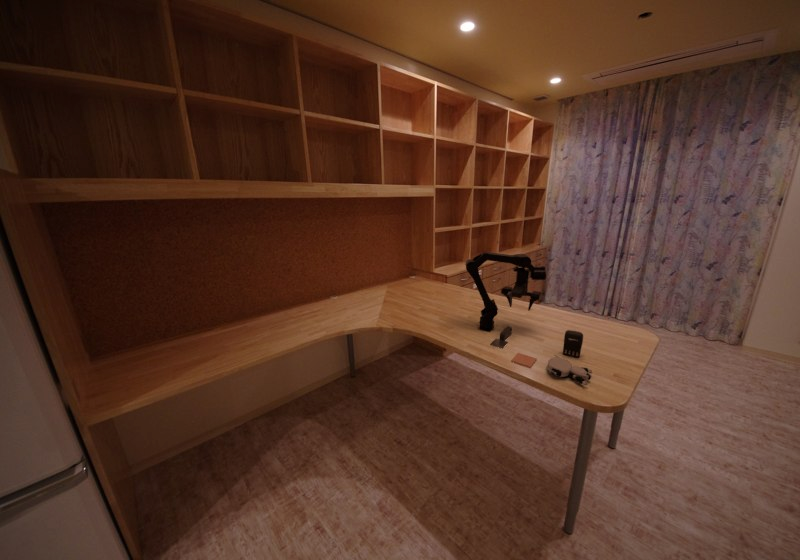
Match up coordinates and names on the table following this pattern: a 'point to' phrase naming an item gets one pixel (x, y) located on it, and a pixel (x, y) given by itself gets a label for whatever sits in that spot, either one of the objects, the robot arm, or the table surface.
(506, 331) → the turner
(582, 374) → the robot toy
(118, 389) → the table surface
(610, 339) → the table surface
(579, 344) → the battery charger
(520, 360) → the tile
